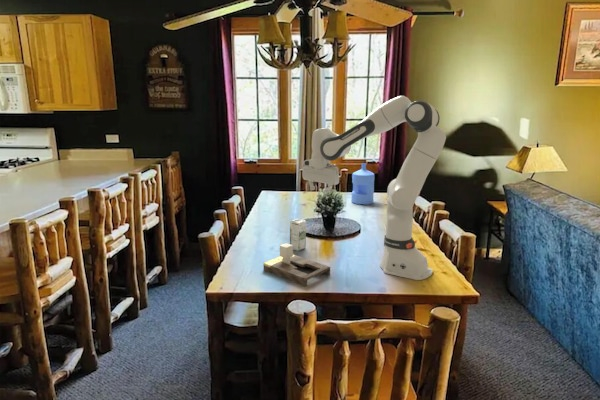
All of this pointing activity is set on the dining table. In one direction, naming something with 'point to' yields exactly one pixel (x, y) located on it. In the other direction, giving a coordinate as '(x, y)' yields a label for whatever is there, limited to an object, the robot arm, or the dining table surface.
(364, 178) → the water jug
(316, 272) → the keyhole plate
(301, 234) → the syrup box
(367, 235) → the dining table surface
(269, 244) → the dining table surface
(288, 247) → the keyed peg
